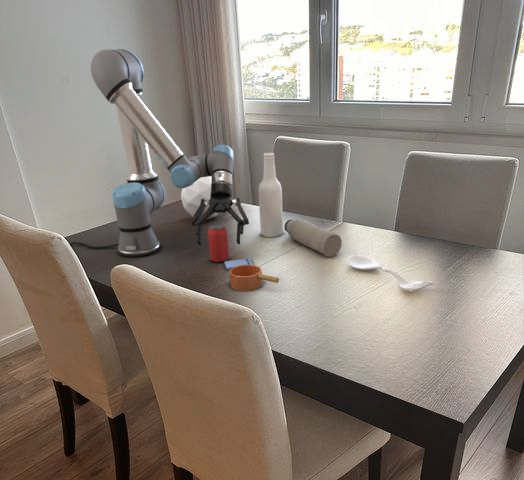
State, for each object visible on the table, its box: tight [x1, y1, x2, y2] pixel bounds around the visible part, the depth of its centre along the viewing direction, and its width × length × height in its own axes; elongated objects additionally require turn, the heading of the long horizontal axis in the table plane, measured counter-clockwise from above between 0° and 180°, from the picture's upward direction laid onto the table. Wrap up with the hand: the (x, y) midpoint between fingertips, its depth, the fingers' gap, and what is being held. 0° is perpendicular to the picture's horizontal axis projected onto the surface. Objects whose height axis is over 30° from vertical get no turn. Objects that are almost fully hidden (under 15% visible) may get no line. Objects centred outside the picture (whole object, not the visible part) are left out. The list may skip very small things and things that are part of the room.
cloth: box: [224, 258, 253, 271], centre depth 166 cm, size 6×9×1 cm
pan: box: [228, 264, 263, 292], centre depth 151 cm, size 10×10×4 cm
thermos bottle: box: [284, 218, 343, 258], centre depth 178 cm, size 8×8×28 cm
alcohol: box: [258, 152, 284, 238], centre depth 186 cm, size 9×9×30 cm
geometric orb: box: [180, 176, 220, 220], centre depth 212 cm, size 19×20×20 cm
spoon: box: [346, 254, 435, 293], centre depth 150 cm, size 9×32×4 cm, turn 29°
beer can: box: [207, 223, 230, 263], centre depth 169 cm, size 7×7×12 cm
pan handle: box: [258, 273, 280, 284], centre depth 146 cm, size 7×2×2 cm, turn 56°
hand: (218, 243), depth 168 cm, fingers open, 13 cm apart
